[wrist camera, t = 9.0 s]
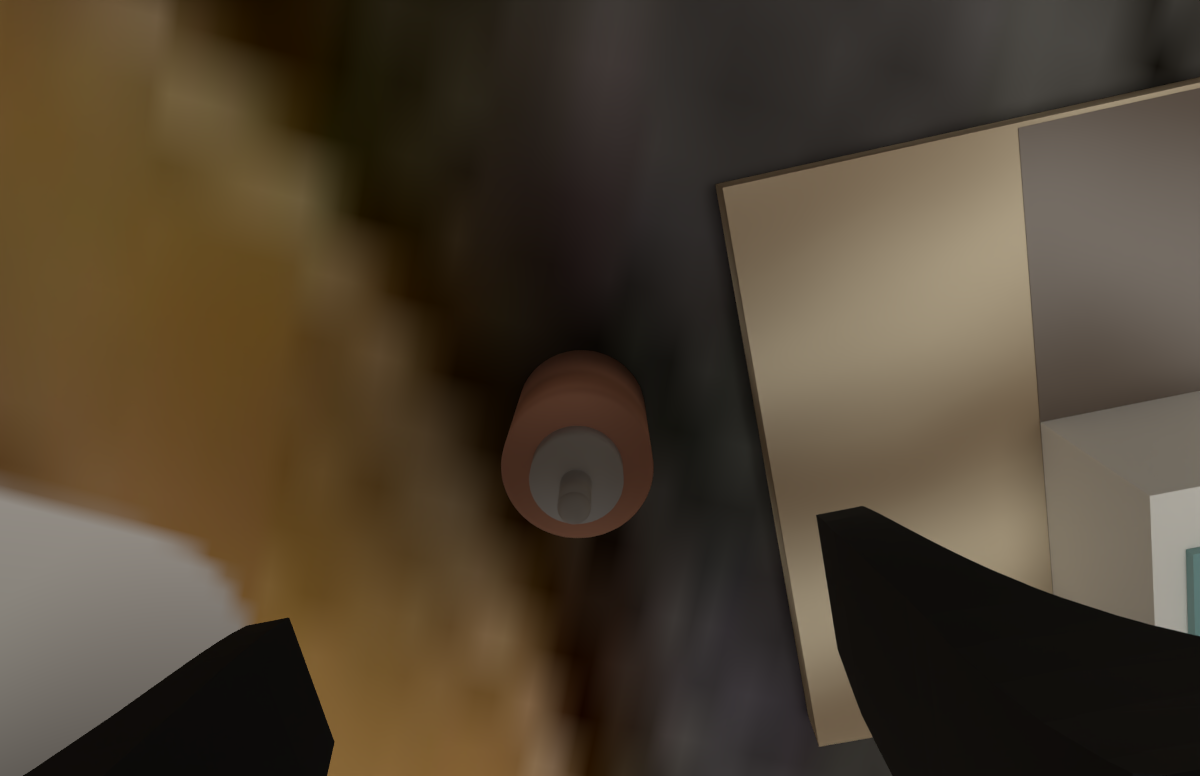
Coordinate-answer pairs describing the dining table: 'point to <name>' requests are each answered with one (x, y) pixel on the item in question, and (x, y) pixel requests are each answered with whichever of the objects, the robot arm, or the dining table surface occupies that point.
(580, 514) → the awl
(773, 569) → the dining table surface
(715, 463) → the dining table surface
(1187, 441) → the block
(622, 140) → the dining table surface
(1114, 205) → the subfloor panel
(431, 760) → the dining table surface
